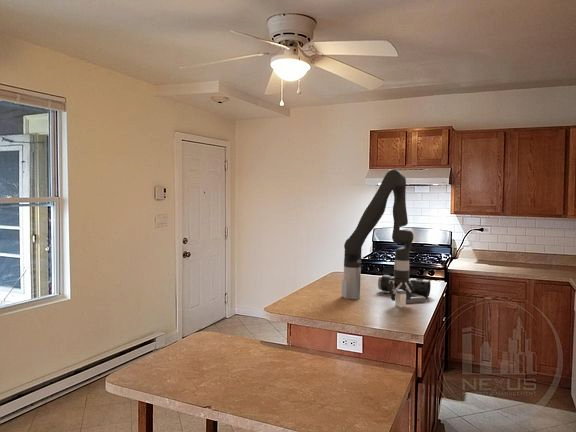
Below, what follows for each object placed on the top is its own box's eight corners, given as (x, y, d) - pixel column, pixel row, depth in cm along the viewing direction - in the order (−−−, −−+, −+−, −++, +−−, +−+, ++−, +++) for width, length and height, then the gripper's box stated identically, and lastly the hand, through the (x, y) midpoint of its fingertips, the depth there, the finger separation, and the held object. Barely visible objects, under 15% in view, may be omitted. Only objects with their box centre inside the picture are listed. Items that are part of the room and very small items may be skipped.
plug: (399, 307, 219) (400, 291, 219) (395, 305, 224) (395, 289, 223) (405, 306, 220) (406, 291, 220) (400, 304, 225) (401, 289, 224)
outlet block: (406, 303, 228) (406, 298, 228) (396, 298, 237) (396, 294, 237) (425, 302, 231) (425, 297, 231) (414, 297, 241) (415, 293, 241)
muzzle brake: (426, 299, 237) (427, 281, 236) (377, 293, 251) (377, 275, 250) (430, 296, 245) (431, 278, 245) (382, 290, 259) (382, 273, 258)
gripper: (393, 270, 215) (392, 302, 216) (418, 269, 220) (417, 301, 221) (385, 268, 223) (384, 299, 223) (409, 267, 227) (408, 297, 228)
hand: (400, 300), depth 222 cm, fingers open, 8 cm apart
